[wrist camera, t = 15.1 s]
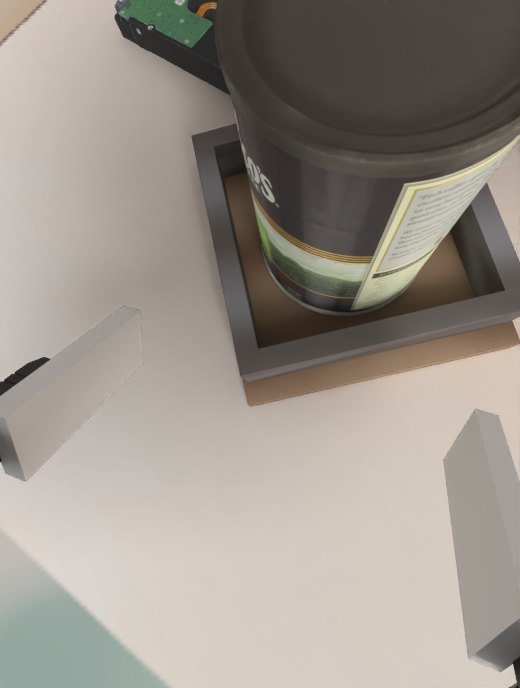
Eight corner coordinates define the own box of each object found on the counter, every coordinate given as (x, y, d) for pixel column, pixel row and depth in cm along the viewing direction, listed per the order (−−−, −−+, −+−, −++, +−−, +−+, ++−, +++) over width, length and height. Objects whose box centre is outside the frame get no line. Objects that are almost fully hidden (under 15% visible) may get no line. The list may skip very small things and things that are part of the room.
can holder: (509, 347, 23) (554, 329, 19) (250, 406, 24) (240, 401, 20) (417, 107, 27) (437, 50, 23) (200, 165, 28) (183, 120, 24)
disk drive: (339, 24, 30) (196, -42, 33) (343, -16, 28) (187, -83, 31) (263, 120, 29) (122, 43, 32) (260, 88, 27) (105, 7, 30)
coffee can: (264, 323, 24) (214, 178, 10) (259, 177, 26) (212, -104, 12) (438, 313, 23) (644, 135, 9) (416, 162, 25) (555, -164, 11)
